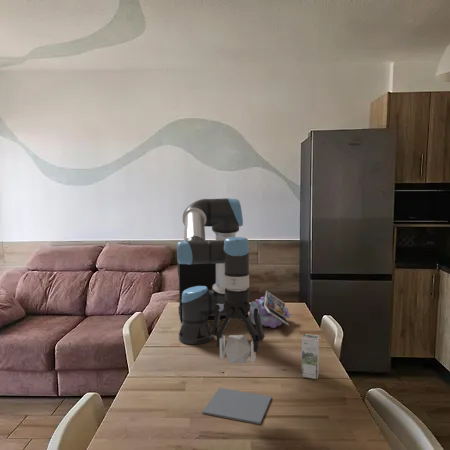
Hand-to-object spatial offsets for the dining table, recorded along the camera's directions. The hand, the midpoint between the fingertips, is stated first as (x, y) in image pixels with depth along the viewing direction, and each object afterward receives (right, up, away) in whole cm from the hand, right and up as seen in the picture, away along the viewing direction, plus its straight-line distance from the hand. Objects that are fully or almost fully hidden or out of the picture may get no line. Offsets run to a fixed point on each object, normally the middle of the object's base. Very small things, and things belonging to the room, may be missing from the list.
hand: (237, 359), depth 120 cm
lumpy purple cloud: (+19, -8, +75) cm, 78 cm away
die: (0, -1, 0) cm, 1 cm away
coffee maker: (-14, -7, +90) cm, 91 cm away
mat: (0, -15, +1) cm, 15 cm away
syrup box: (+27, -13, +21) cm, 36 cm away
